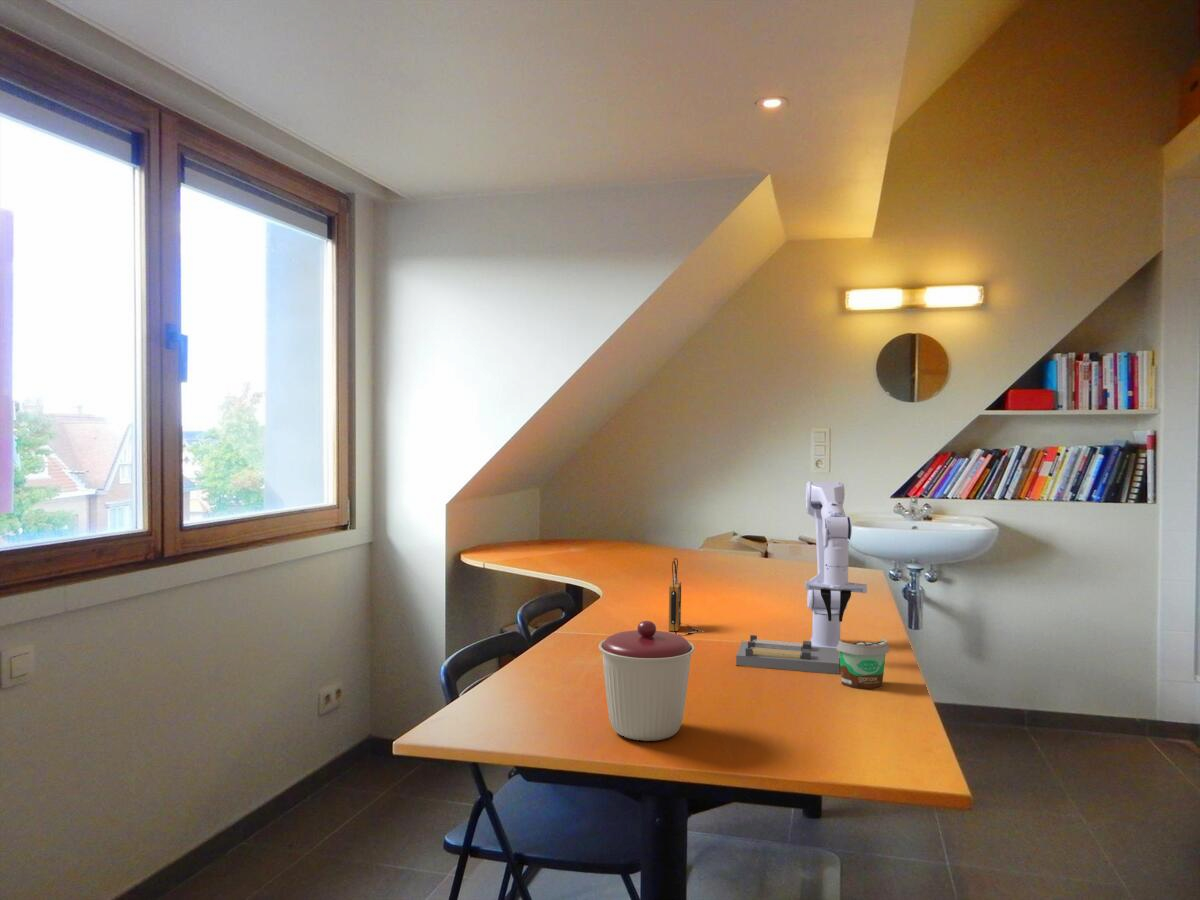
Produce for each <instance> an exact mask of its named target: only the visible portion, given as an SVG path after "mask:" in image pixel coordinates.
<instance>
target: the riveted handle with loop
mask: <svg viewBox="0 0 1200 900" xmlns="http://www.w3.org/2000/svg"><path fill="white" fill-rule="evenodd" d="M671 564H672V565H671V571H672V572H671V574H672V581H671V583H670V584H669V585H668V632H674V631H678V630H680V628H681V626H682V624H681V623H682V621H681V619H682V581H678V566H679V560H678V558H677V557H676V558H673V561H671ZM690 628H692V629H691V630H693V629H695V630H694V631H690V632H687V633H686V634H688V633H693V634H694V632H695V633H697V631H696V630H698V632H701V631H702V632H701V633H704V632H705V631H703V630H701V629H699V628H695V627H690V626H689V628H688V629H690ZM678 632H679V631H678ZM674 634H676V635H677V634H678V633H677V632H674Z"/></svg>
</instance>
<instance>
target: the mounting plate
mask: <svg viewBox="0 0 1200 900" xmlns="http://www.w3.org/2000/svg"><path fill="white" fill-rule="evenodd" d="M749 636H750V637H749V640H748V641H745V640H744V641H742V640H741V642H740V645H739V647H738V650H737V652H736V656H735V658H736V661H735V666H736V665H743V666H742V667H745V666H752V667H751V668H757V667H762V668H761V669H769V668H775V669H774V670H781V669H785V670H784V671H794V670H796V671H797V672H805V673H806V672H807V673H820V674H831V675H840V656H839V651H838V650H836V649H837V648H826V647H812V646H811V640H803V642H802V647H801V650H792V651H801V656H800V659H792V658H781V657H769V656H758V655H753V648H750V647H755V642H754V641H753V639H758V635H754V634H750V635H749ZM757 648H765V647H757ZM768 649H777V648H768ZM780 650H788V649H780ZM796 671H795V672H796Z"/></svg>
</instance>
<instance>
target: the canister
mask: <svg viewBox="0 0 1200 900" xmlns="http://www.w3.org/2000/svg"><path fill="white" fill-rule="evenodd" d="M636 629H637V630H635V629H634V630H626V631H621V632H616V633H614V634H611V635H609V636H608V637H607V638H605V639H603V640H601V641H600V642H599V644H598V649H599V651H600V652H601V653H602V664H603V675H604V684H605V686H604V687H605V695H606V703H607V711H608V718H609V722H610V725H611V727H612V729H613V730H614V731H615V732H616V733H617V734H618V735H620V736H622V737H623V736H624V737H623V738H625V739H626V738H627V739H629V740H635V741H639V740H640V741H641V740H642V741H643V742H653V741H662V740H665V739H669V738H671V737H673V736H674V735H676V734H677V733H678V731H679V730H680V728H681V726H682V722H683V720H684V719H683V718H684V712H685V707H686V699H687V691H688V684H689V676H690V668H691V666H690V665H691V659H692V658H691V656H692V654H693V653H694V652H695V650H696V649H695V645H694V644H693V643H692V642H691V641H688V639H686V638H685V637H683V636H680V634H679V635H677V634H675V633H673V632H670V631H662V630H657V626H656V624H655V623H654V622H652V621H651V620H643V621H640V622H639V623H638V625H637V628H636ZM642 741H641V742H642Z"/></svg>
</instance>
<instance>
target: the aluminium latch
mask: <svg viewBox="0 0 1200 900" xmlns="http://www.w3.org/2000/svg"><path fill="white" fill-rule="evenodd" d="M753 641H754V642H755V647H765V648H777V649H788V650H801V647H802V646H803V642H795V641H794V642H793V641H792V642H791V641H783V640H782V641H781V640H769V639H758V638H757V639H753Z"/></svg>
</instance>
